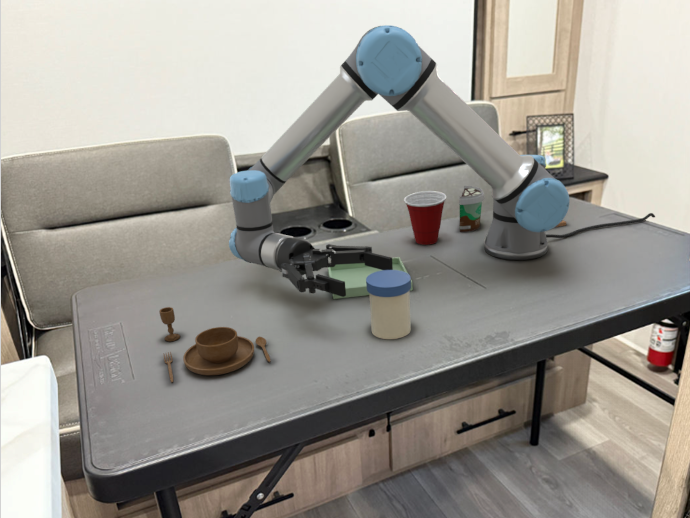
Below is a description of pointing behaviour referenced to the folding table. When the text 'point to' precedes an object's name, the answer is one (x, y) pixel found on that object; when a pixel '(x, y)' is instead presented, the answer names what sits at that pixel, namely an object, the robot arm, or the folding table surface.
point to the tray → (359, 276)
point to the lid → (388, 283)
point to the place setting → (213, 349)
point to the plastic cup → (425, 215)
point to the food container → (470, 208)
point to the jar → (390, 316)
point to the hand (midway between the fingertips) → (368, 276)
